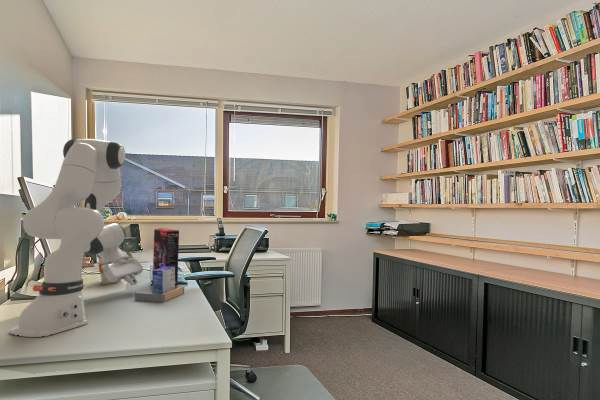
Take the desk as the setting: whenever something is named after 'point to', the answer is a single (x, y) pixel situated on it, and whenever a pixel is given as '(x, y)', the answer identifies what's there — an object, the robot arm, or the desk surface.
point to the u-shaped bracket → (160, 295)
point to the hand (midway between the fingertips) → (134, 284)
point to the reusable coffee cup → (103, 277)
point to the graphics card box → (166, 249)
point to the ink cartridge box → (163, 279)
